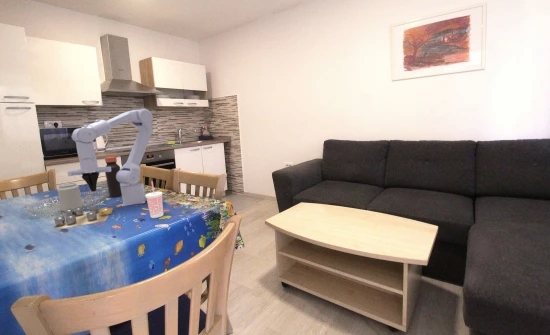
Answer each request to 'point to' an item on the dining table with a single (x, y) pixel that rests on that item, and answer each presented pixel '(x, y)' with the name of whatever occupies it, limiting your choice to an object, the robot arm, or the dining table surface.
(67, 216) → the metal pegs
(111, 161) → the bottle
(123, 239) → the dining table surface
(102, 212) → the gold dome
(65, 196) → the can
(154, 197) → the beverage cup
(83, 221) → the board
